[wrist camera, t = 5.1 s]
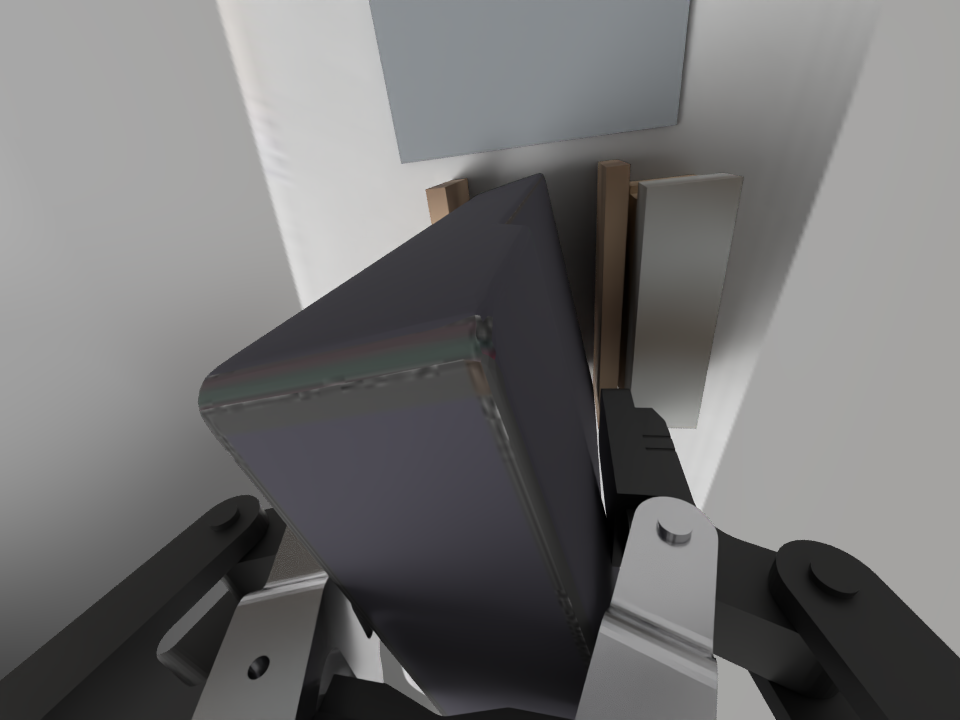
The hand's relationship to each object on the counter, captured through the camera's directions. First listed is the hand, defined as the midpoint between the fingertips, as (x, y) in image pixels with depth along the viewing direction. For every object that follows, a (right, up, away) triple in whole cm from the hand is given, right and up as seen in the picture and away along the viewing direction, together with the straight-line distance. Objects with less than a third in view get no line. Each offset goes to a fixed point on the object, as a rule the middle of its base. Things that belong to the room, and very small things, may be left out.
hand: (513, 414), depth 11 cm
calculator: (+2, +4, +8) cm, 9 cm away
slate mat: (+1, +15, +4) cm, 16 cm away
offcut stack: (+8, +5, +8) cm, 12 cm away
